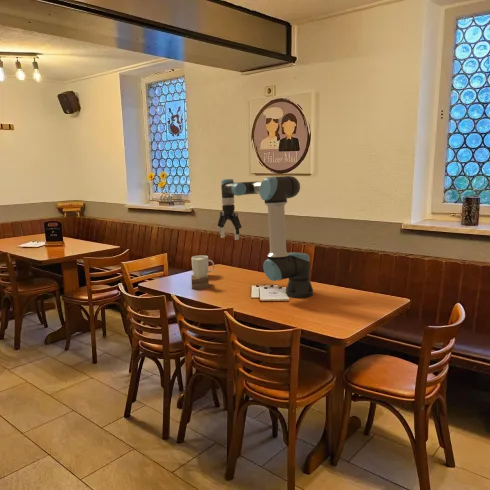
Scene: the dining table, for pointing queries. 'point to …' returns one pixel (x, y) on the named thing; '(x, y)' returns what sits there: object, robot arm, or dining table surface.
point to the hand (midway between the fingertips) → (229, 238)
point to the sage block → (199, 267)
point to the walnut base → (200, 282)
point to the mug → (205, 262)
